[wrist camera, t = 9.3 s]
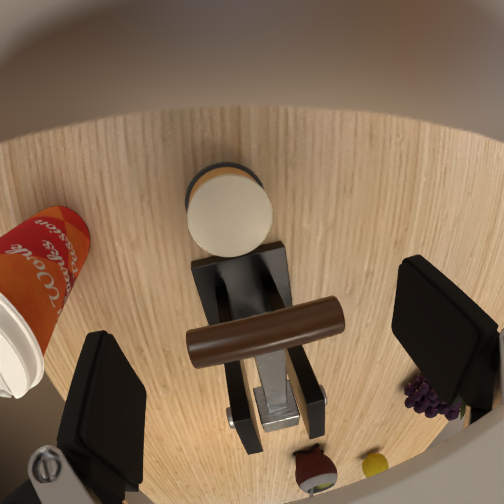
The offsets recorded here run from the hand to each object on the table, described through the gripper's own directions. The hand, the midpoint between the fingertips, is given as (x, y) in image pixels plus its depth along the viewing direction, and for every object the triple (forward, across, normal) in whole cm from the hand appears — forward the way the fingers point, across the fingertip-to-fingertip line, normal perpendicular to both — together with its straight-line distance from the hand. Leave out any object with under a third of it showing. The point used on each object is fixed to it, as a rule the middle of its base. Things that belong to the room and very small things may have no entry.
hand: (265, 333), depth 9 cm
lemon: (+16, -18, +60) cm, 64 cm away
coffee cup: (+17, +15, 0) cm, 23 cm away
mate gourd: (+16, -4, +48) cm, 50 cm away
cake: (+17, 0, +1) cm, 17 cm away
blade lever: (+3, 0, +5) cm, 6 cm away
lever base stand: (+17, 0, +10) cm, 19 cm away
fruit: (+16, -27, +36) cm, 48 cm away
